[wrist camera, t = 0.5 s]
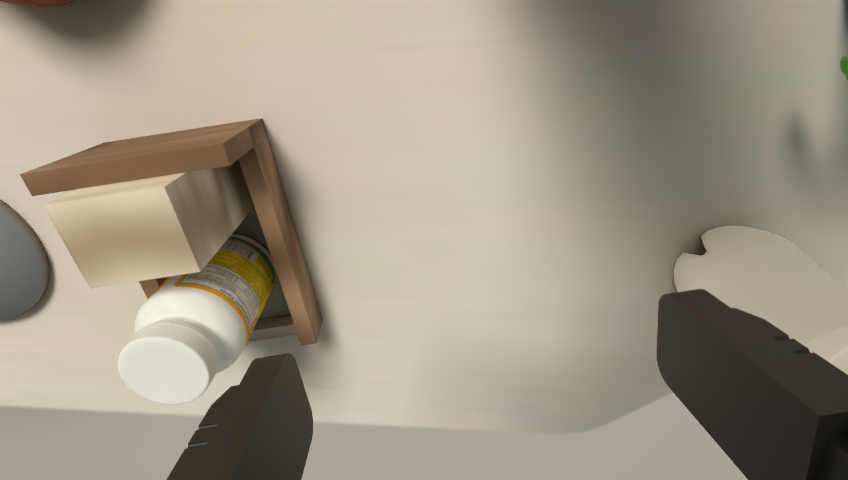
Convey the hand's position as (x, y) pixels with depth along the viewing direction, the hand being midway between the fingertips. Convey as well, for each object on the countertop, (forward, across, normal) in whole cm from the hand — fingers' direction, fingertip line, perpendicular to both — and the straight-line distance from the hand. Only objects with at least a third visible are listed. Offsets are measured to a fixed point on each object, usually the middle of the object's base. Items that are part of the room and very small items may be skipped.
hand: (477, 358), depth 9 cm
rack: (+18, +14, +2) cm, 23 cm away
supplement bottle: (+18, +14, +4) cm, 23 cm away
